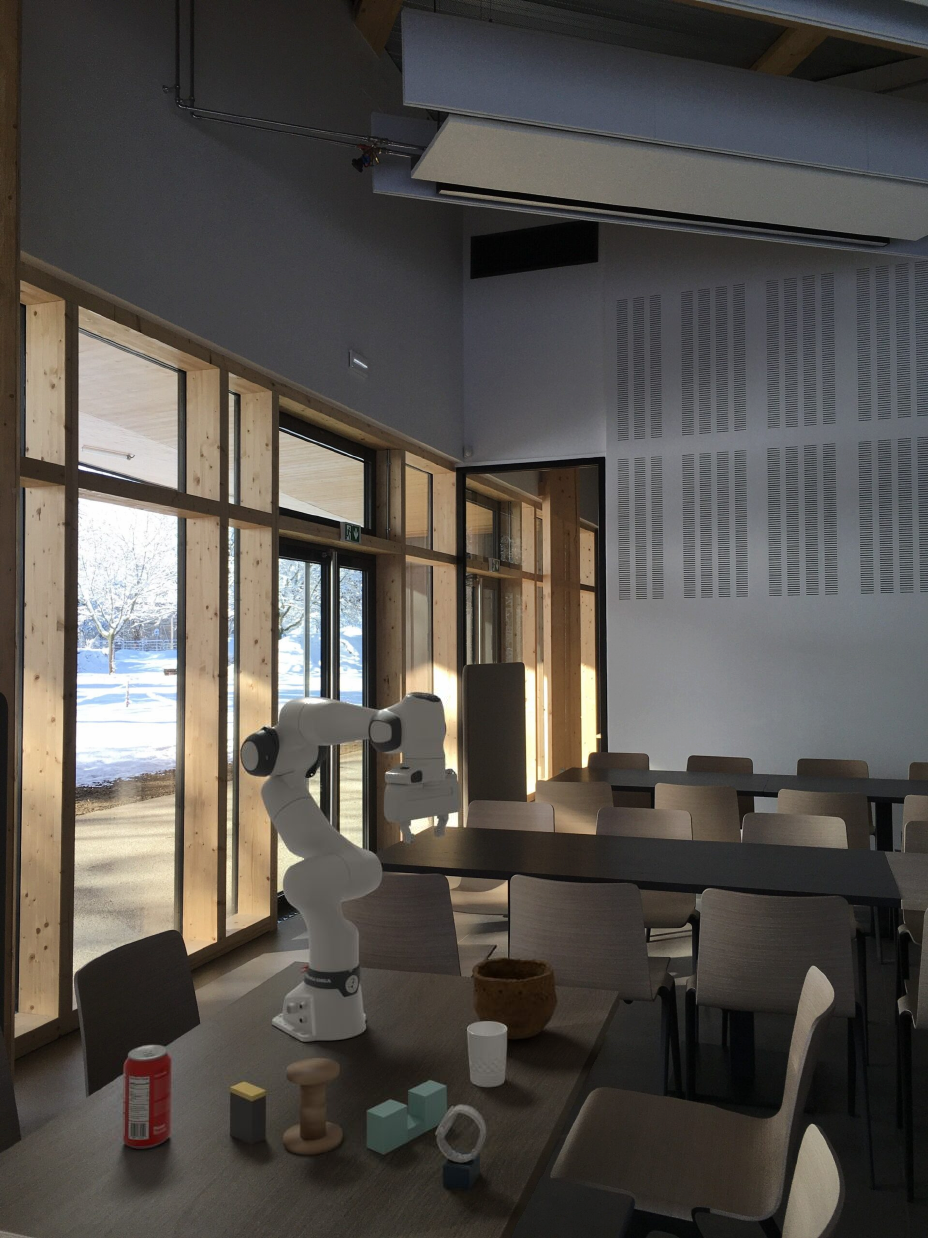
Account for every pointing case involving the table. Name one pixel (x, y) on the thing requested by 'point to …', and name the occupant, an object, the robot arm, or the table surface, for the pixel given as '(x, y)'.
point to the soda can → (147, 1097)
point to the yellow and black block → (248, 1112)
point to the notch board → (406, 1117)
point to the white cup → (487, 1053)
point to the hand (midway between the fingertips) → (424, 839)
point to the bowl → (515, 994)
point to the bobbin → (312, 1108)
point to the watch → (460, 1151)
